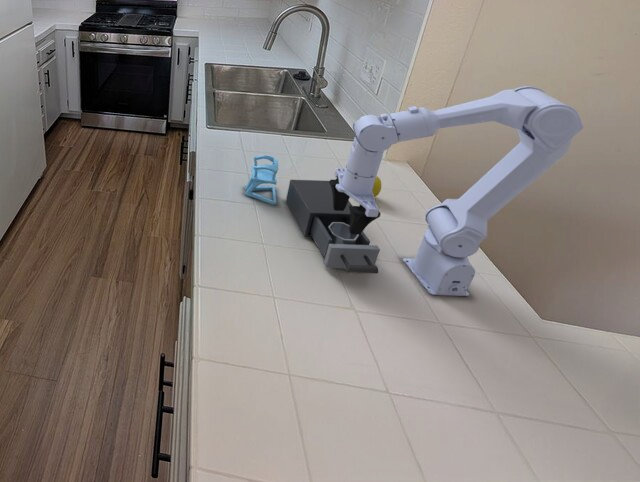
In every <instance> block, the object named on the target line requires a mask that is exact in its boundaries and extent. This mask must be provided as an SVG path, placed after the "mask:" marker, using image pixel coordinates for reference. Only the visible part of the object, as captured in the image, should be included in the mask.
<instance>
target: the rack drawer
mask: <svg viewBox="0 0 640 482" xmlns="http://www.w3.org/2000/svg"><path fill="white" fill-rule="evenodd" d="M350 221H351V217H346V216H314V215H313V218H312V222H311V226H310V230H309V232H310V233H311V235H312V237H313V238H312V240H313V241H314V243H315V244H316V246H317V248H318V249H319V251H320V253H321V255H322V256H323V258H324V261H323V265H324V267H325V268H327V269H345V272H347V273H349V274H350V273H351V274H352V273H353V274H379V267H378V266H377V265H376V263H377V260H378V257H379V254H380V251H381V248H380V247H379V246H378V245H376V244H375V245H374V244H371V240H370V239H369V238H368V236H367V235H366V233H365V232H364V230H363V231H362V233H361V234H359V237H358V240H357V243H356V245H348V244H332V241H333V240H332V238H331V237H330V235H329V233H328V232H327V230H328V227H329V225H330V224H331V223H332V222H343V223H345V224H347V225H349V226H350Z"/></svg>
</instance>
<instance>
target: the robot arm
mask: <svg viewBox="0 0 640 482" xmlns="http://www.w3.org/2000/svg"><path fill="white" fill-rule="evenodd" d="M489 122H496V123H498V124H502V125H504V126H507V127H510V128H512V129H515V130H516V131H517V134H518V138H519V143H518V144H516V145H515V146H514V147H513V148H512V149H511V150H510V151H509V152H508V153H506V155H504V156H503V157H502V158H501V159H500V160H499V161H497V162H496V164H495V165H494V166H492V168H490V169H489V170H488V171H487V172H486V173H485V174H484V175H483V176H482V177H481V178H479V180H477V182H475V183H474V184H473V185H472V186H471V187H470V188H468V190H467V191H465V193H463V194H462V195H461V196H460V197H459V198H446V199H444V201H442V202H441V203H439V204H437V205H434V206H432V207H430V208H428V209H427V210H426V212H425V215H424V219H425V222H426V223H427V227H426V230H425V232H424V235H423V237H422V239H421V242H420V244H419V247H418V250H417V251H416V254H415V256H414V258H412V257H411V258H410V257H404V258H402V261H403V263H404V264H405V265H406V266H407V267H408V269H409V270H410V271H411V273H413V275H414V276H415V278H416V279H417V280H418V281H419V283H420V284H421V285H422V286H423V288H425V290H426V291H427V292H428V293H429V294H430V295H431V296H432V295H433V296H456V297H457V296H458V297H469V296H470V293H469V292H468V291H469V288H470V285H471V284H472V282H473V279H474V278H475V275H476V270H475V268H474V266H473V265H472V264H471V262H470V261H469V258H468V257H470V256H473V255H475V254H476V253H477V252H478V251H479V249H480V245H481V243H482V242H483V241H484V240H485V239H486V238H487V237H488V222H489V220H490V219H492V217H493V216H495V215H496V214H497V213H498V212H500V211H501V209H503V208H504V207H505V206H506V205H508V204H509V203H510V202H511V201H512V200H513V199H515V198H516V197H517V196H518V195H520V193H522V192H523V191H524V190H525V189H526V188H528V187H529V186H531V184H533V183H534V182H535V181H536V180H537V179H538V178H540V177H541V176H542V175H543V174H544V173H546V172H547V171H548V170H550V168H551V167H553V166H554V165H555V164H556V163H557V162H559V161H560V160H561V159H563V157H564V156H565V155H566V154H567V153H568V151H569V149H570V145H571V143H572V141H573V138H574V137H576V135H577V134H578V133H580V132H581V131H582V130H584V125H583V122H582V119H581V116H580V114H579V111H577V110H576V109H575V108H574V107H572V106H571V105H569V104H565V103H563V102H562V101H560V100H558V99H557V98H554V97H553V96H551V95H549V94H547V93H546V92H545V91H544V90H542V89H540V88H538V87H536V86H531V85H528V86H527V85H525V86H519V87H516V88H514V89H511V88H510V89H502V90H500V91H498V92H497V93H495V94H493V95H490V96H487V97H483V98H479V99H475V100H471V101H468V102H463V103H459V104H456V105H451V106H448V107H447V106H446V107H444V108H440V109H436V110H431V109H429V108H426V107H423V106H422V107H417V106H416V105H413V106H408V107H407V109H406V110H403V111H397V112H393V113H386V112H384V113H381V114H379V116H378V115H375V114H366V115H362V116H361V117H359V119H357V120H356V121H355V122H353V123H352V131H353V132H354V134H355V136H354V138H353V141H352V145H351V147H350V150H349V154H348V156H347V157H348V158H347V161H346V165H345V168H335V171H334V177H335V179H330V180H328V181H329V183H330V185H331V189H332V194H333V209H334V210H335V211H344V209H345V208H346V205H347V203H348V200H349V201H350V198H351V199H352V200H353V201H354V202H356V203H357V204H359V205H353V206H349V209H350V214H351V221H350V227H349V232H350V233H351V234H361V233H362V231H363V232H364V230H365V229H366V228H367V227H368V226H369V224H371V223H372V222H374V221H375V220H377V219H379V218H380V217H381V214H382V213H381V212H380V208H379V207H378V205H377V202H376V199H375V198H376V197H374V195H373V192H372V188H373V185H374V182H375V179H376V176H377V177H378V172H379V169H380V166H381V163H382V159H383V157H384V156H383V154H384V151H386V150H389V148H391V147H392V145H395V144H398V143H401V142H408V141H413V140H418V139H419V140H420V139H424V138H428V137H433V136H434V135H436V134H437V132H438V131H439V130H440V129H445V128H453V127H460V126H466V125H467V126H469V125H476V124H482V123H489Z"/></svg>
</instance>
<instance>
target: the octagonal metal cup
mask: <svg viewBox="0 0 640 482" xmlns="http://www.w3.org/2000/svg"><path fill="white" fill-rule="evenodd" d="M349 227H350V226H349V225H347V224H345V223H343V222H332V223H331V224H330V225H329V227H328V230H327V232H328V233H329V235H330V237H331V238H332V240H333V241H332V244H348V245H356V243H357V240H358V237H359V234H351V233H350V232H349Z"/></svg>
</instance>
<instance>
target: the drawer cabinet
mask: <svg viewBox="0 0 640 482" xmlns="http://www.w3.org/2000/svg"><path fill="white" fill-rule="evenodd" d="M329 181H330V180H317V179H316V180H314V179H311V180H310V179H290V180H289V184H288V188H287V193H286V199H285V204H286V206H287V207H288V209H289V211H290V213H291V215H292V217H293V219H294V221H295V222H296V224H297V226H298V228H299V230H300V232H301V234H302V236H303V237H304V238H310V239H311V238H312V239H313V237H312V235H311V233H310V232H309V230H310V226H311V222H312V218H313V215H314V216H346V217H351V214H350V209H349V206H354V205H353V204H352V203H351V201H350V199H349V200H348V203H347V205H346V208H345V209H344V211H335V210H334V209H333V194H332V189H331V185H330V183H329Z"/></svg>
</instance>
